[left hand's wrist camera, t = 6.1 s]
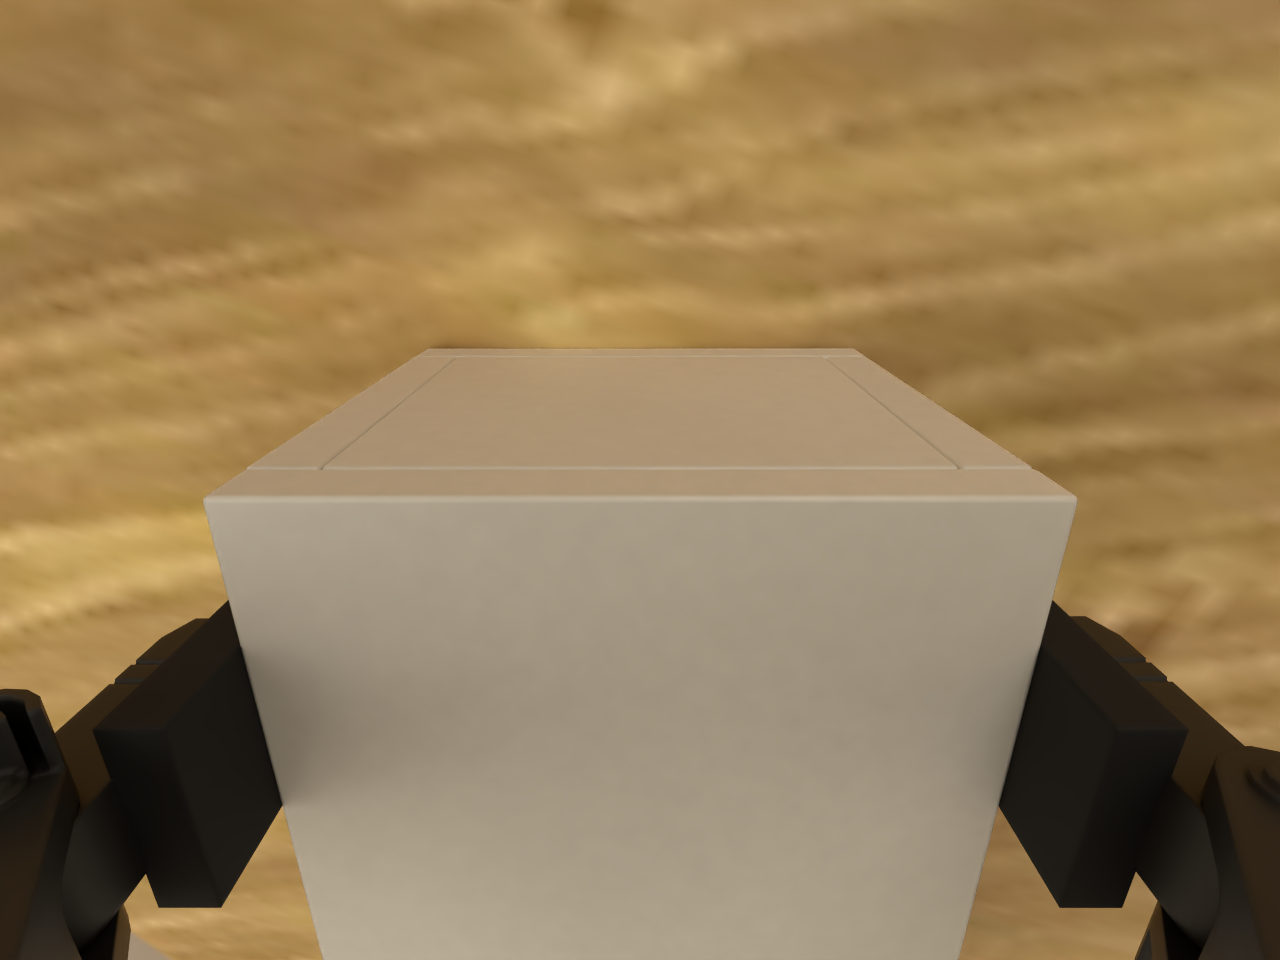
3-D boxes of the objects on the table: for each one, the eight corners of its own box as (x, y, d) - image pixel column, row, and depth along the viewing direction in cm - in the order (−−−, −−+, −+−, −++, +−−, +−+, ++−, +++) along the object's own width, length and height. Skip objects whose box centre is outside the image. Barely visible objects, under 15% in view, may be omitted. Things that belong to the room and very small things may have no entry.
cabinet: (788, 917, 23) (869, 1308, 15) (493, 917, 23) (412, 1307, 15) (854, 347, 16) (1083, 496, 8) (426, 348, 16) (198, 497, 8)
